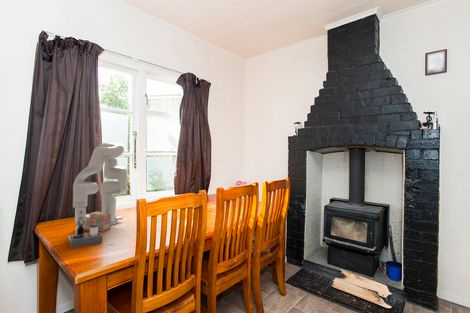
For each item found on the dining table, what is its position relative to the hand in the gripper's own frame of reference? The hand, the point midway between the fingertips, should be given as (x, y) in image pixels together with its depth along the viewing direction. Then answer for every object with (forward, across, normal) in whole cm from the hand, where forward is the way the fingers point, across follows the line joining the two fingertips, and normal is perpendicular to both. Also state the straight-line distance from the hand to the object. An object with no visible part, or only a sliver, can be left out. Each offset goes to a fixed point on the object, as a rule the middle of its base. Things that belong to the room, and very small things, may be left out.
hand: (79, 232), depth 151 cm
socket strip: (+4, -13, -2) cm, 14 cm away
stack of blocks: (+4, +15, -10) cm, 19 cm away
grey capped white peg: (+3, -13, -6) cm, 14 cm away
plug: (+4, 0, 0) cm, 4 cm away
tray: (+4, 0, 0) cm, 4 cm away
